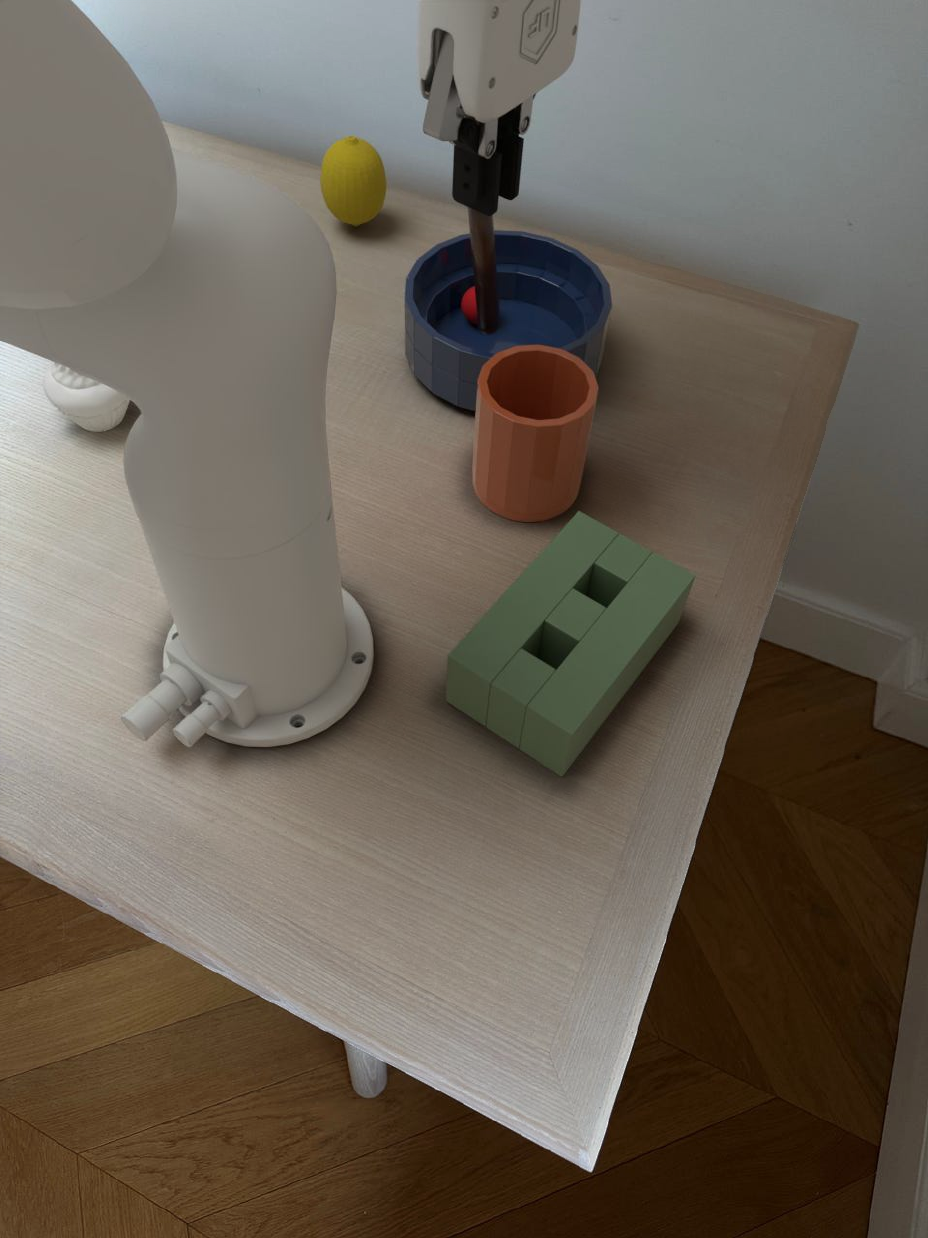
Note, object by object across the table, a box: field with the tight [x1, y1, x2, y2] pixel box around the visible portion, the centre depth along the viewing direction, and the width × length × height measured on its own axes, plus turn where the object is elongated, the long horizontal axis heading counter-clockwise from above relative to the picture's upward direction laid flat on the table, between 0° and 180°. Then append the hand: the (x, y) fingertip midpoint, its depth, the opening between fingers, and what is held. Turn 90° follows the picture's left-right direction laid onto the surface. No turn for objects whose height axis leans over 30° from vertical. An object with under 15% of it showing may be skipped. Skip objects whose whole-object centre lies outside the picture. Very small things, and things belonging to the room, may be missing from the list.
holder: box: [445, 510, 696, 778], centre depth 61 cm, size 8×14×5 cm, turn 144°
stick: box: [467, 115, 500, 335], centre depth 66 cm, size 2×2×16 cm
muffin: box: [42, 361, 131, 433], centre depth 71 cm, size 6×6×7 cm
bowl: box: [404, 229, 613, 412], centre depth 77 cm, size 15×15×6 cm
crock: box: [471, 345, 599, 523], centre depth 68 cm, size 8×8×9 cm
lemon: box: [319, 135, 387, 227], centre depth 85 cm, size 6×6×8 cm
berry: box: [461, 286, 500, 325], centre depth 79 cm, size 3×3×3 cm
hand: (485, 197), depth 65 cm, fingers closed on stick, 1 cm apart
